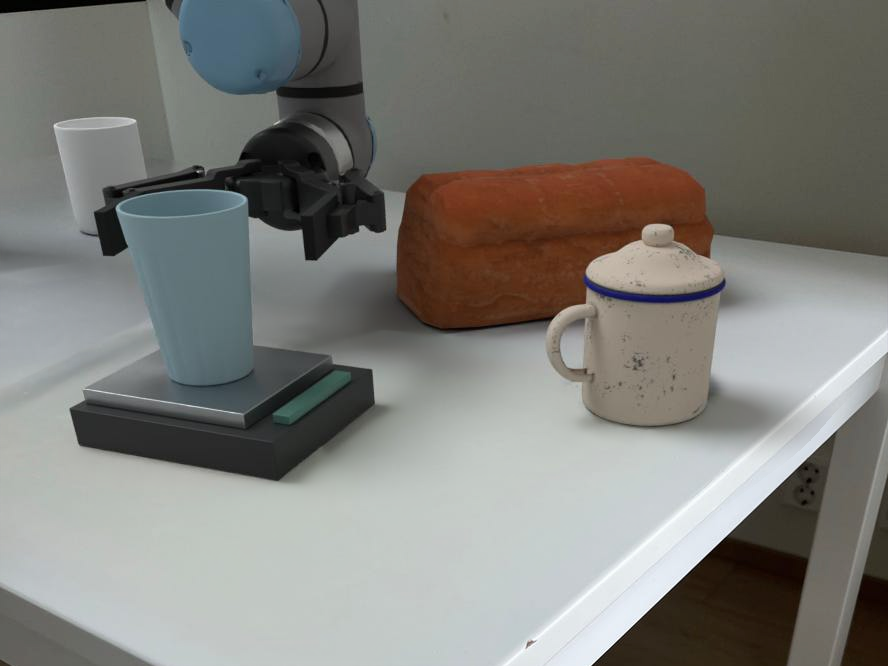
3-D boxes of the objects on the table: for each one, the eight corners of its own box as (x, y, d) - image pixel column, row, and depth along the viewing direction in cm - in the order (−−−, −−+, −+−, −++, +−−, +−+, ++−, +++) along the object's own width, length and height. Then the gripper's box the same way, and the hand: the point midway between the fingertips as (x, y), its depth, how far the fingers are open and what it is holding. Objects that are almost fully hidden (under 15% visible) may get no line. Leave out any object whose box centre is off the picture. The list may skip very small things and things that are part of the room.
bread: (725, 303, 88) (742, 172, 82) (437, 340, 81) (432, 200, 75) (643, 259, 100) (652, 143, 94) (386, 288, 93) (378, 164, 87)
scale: (78, 444, 65) (64, 393, 63) (195, 377, 75) (187, 330, 73) (278, 480, 60) (270, 426, 58) (375, 403, 70) (371, 354, 68)
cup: (242, 396, 62) (214, 218, 56) (129, 389, 63) (90, 214, 57) (287, 355, 68) (266, 190, 62) (183, 349, 69) (152, 187, 63)
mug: (159, 210, 121) (141, 111, 115) (153, 233, 111) (133, 126, 105) (85, 214, 119) (63, 114, 113) (73, 238, 110) (47, 130, 104)
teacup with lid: (667, 372, 74) (684, 205, 68) (735, 417, 67) (761, 235, 61) (519, 396, 71) (521, 222, 64) (574, 445, 64) (583, 256, 57)
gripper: (449, 224, 82) (400, 300, 65) (157, 218, 84) (36, 291, 67) (446, 121, 77) (393, 175, 60) (139, 119, 80) (4, 170, 63)
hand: (204, 236), depth 64 cm, fingers open, 13 cm apart
